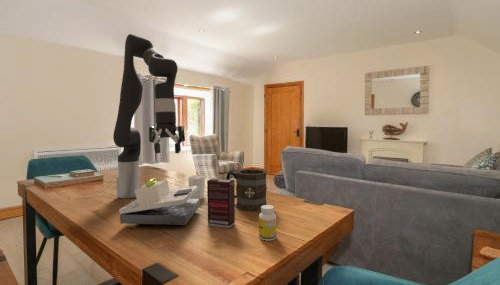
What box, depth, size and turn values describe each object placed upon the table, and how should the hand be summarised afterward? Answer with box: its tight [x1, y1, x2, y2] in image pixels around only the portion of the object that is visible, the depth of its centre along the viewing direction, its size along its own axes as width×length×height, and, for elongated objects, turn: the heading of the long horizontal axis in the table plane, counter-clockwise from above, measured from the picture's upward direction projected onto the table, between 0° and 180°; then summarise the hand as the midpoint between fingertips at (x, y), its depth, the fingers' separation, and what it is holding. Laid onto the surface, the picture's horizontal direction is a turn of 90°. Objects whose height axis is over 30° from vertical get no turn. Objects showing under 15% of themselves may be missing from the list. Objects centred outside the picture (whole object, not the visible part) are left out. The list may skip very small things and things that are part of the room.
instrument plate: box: [118, 177, 198, 215], centre depth 100 cm, size 22×20×8 cm
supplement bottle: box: [258, 204, 277, 242], centre depth 84 cm, size 5×5×10 cm
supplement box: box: [206, 177, 236, 229], centre depth 95 cm, size 9×5×16 cm, turn 71°
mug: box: [225, 168, 268, 212], centre depth 117 cm, size 20×14×15 cm
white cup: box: [187, 174, 206, 200], centre depth 130 cm, size 8×8×10 cm
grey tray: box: [119, 198, 201, 229], centre depth 100 cm, size 22×20×5 cm
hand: (167, 153), depth 106 cm, fingers open, 8 cm apart
